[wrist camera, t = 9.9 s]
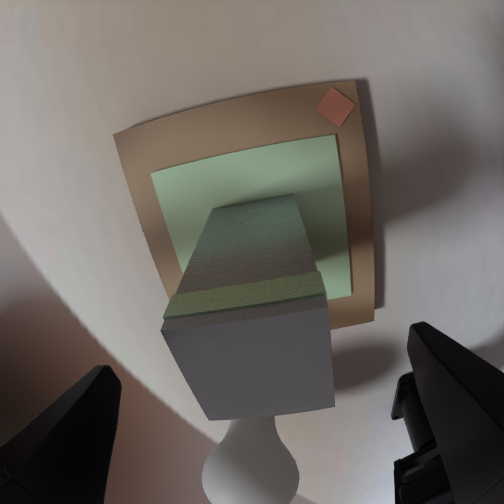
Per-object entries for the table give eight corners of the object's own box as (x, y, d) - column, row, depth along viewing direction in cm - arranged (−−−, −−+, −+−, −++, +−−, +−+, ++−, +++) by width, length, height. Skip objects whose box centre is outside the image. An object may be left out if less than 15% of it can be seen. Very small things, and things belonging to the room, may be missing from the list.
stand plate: (369, 311, 19) (374, 322, 18) (193, 339, 21) (190, 351, 20) (349, 81, 13) (356, 79, 12) (120, 132, 15) (111, 134, 14)
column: (306, 265, 17) (336, 407, 9) (230, 278, 17) (208, 421, 9) (293, 191, 15) (330, 304, 7) (211, 208, 15) (157, 329, 7)
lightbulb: (291, 359, 21) (301, 504, 12) (294, 407, 24) (301, 525, 14) (207, 365, 22) (183, 503, 12) (223, 410, 25) (210, 526, 15)
